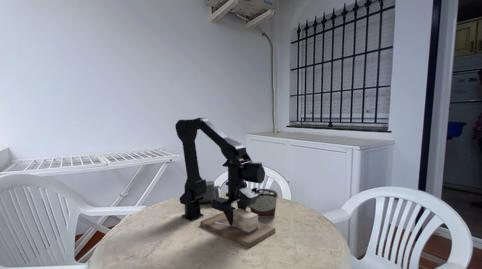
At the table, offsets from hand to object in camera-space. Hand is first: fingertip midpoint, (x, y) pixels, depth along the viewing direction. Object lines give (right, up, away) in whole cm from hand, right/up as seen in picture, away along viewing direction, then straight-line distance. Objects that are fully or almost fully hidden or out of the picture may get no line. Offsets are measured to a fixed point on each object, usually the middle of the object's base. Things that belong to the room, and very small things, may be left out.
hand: (236, 222), depth 87 cm
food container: (+11, -2, +13) cm, 17 cm away
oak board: (0, -2, 0) cm, 2 cm away
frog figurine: (+5, -1, +26) cm, 27 cm away
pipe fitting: (-14, -1, +28) cm, 31 cm away
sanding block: (+3, -1, -2) cm, 4 cm away
